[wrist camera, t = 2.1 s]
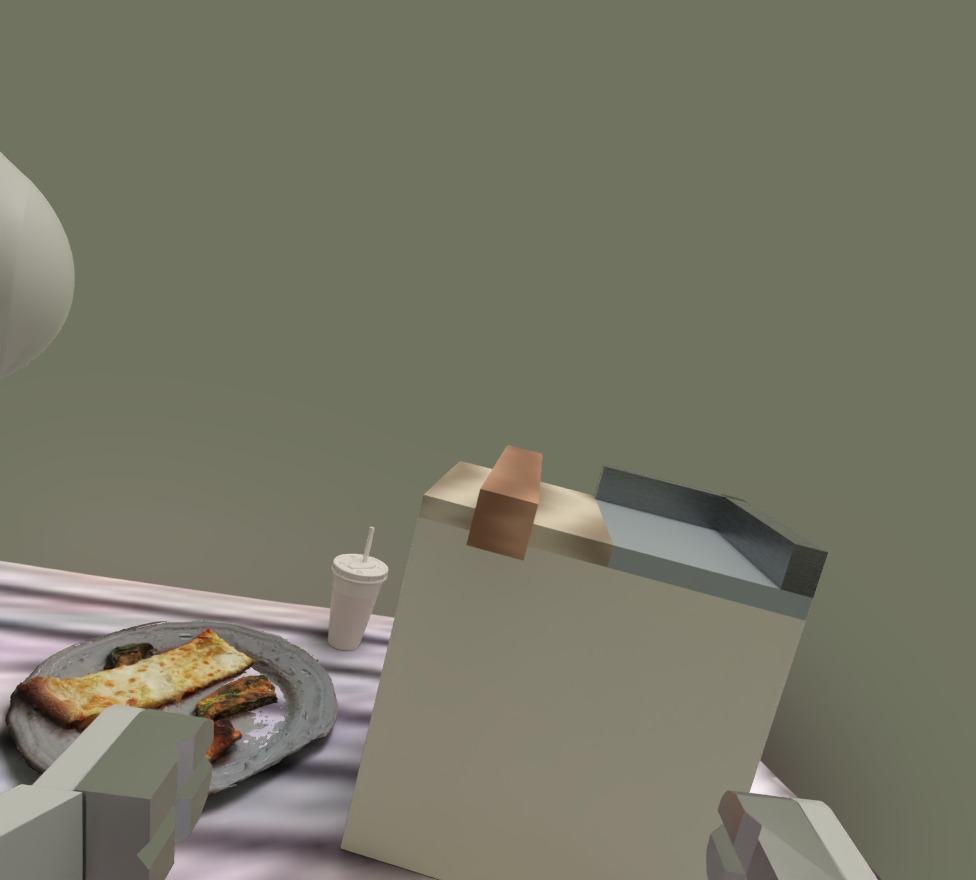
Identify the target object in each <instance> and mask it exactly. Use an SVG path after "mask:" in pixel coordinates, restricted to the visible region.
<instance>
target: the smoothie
mask: <svg viewBox="0 0 976 880" xmlns="http://www.w3.org/2000/svg"><path fill="white" fill-rule="evenodd" d="M374 530H375V528H374V527H370V530H369V534H368V538H367V543H366V548H365V552H364V555H360V554H344V555H340V556H337V557H336V558H335V559H334V561H333V565H332V568H331V569H332V571H333V573H334V576H333V587H332V598H331V609H330V620H329V632H328V643H329V644H330V645H331V646H332V647H334V648H336V649H339V650H354V649H356V648H358V647H359V645H360V642H361V640H362V637H363V634H364V631H365V629H366V626H367V623H368V621H369V618H370V615H371V612H372V610H373V607H374V604H375V601H376V599H377V596H378V593H379V591H380V588H381V585H382V582H383V581H385V579H386V578H387V573H388V567H387V565H386V564H384V563H383V562H382V561H380V560H378V559H376V558H373V557H369V551H370V547H371V542H372V538H373V534H374Z"/></svg>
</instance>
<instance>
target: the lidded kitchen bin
mask: <svg viewBox="0 0 976 880" xmlns="http://www.w3.org/2000/svg"><path fill="white" fill-rule="evenodd" d="M491 471H492V469H489V468H485V467H481V466H477V465H473V464H469V463H466V462H462V461H460V462H459V463H458V464H457V465H455V466H454V467H453V468H452V469H451V470H450V471H449V472H448V473H447V474H446V475H445V476H444V477H442V478H441V479H440V480H439V481H438V482H437V483H436V484H435V485H434V486H433V487H432V488H430V489H429V490H428V491H427V492H426V493H425V494H424V496H423V500H422V504H421V508H420V512H419V517H418V521H417V525H416V530H415V534H414V538H413V543H412V546H411V551H410V555H409V559H408V564H407V568H406V572H405V576H404V581H403V585H402V589H401V593H400V597H399V602H398V606H397V610H396V614H395V619H394V623H393V627H392V631H391V636H390V640H389V644H388V648H387V652H386V657H385V661H384V665H383V669H382V674H381V678H380V682H379V686H378V691H377V695H376V699H375V703H374V708H373V712H372V716H371V720H370V725H369V729H368V733H367V737H366V742H365V746H364V750H363V754H362V759H361V763H360V767H359V771H358V776H357V780H356V784H355V788H354V792H353V797H352V801H351V805H350V809H349V814H348V818H347V822H346V826H345V831H344V835H343V839H342V843H341V849H344V850H347V851H350V852H354V853H357V854H360V855H363V856H366V857H370V858H373V859H376V860H379V861H382V862H385V863H389V864H392V865H395V866H398V867H401V868H404V869H408V870H411V871H414V872H417V873H420V874H424V875H427V876H430V877H433V878H436V879H439V880H708V877H707V872H706V850H707V846H708V842H709V838H710V834H711V832H713V831H714V830H715V829H716V828H718V827H719V826H720V825H721V824H723V822H722V819H721V817H720V815H719V812H718V807H719V804H720V800H721V797H722V796H723V795H724V793H725V792H726V791H727V790H731V791H738V792H746V793H749V792H750V789H751V786H752V783H753V780H754V777H755V774H756V770H757V767H758V764H759V761H760V758H761V755H762V752H763V749H764V746H765V743H766V740H767V737H768V734H769V731H770V728H771V725H772V722H773V719H774V715H775V712H776V709H777V706H778V703H779V700H780V697H781V694H782V691H783V688H784V685H785V682H786V679H787V676H788V673H789V669H790V667H791V664H792V661H793V658H794V654H795V651H796V648H797V645H798V642H799V639H800V636H801V633H802V630H803V627H804V624H805V621H806V618H807V615H808V612H809V608H810V606H811V603H812V600H813V597H814V594H815V590H816V587H817V584H818V581H819V578H820V575H821V572H822V569H823V566H824V563H825V560H826V557H827V554H828V552H827V551H825V550H823V549H822V548H820V547H819V546H817V545H815V544H813V543H812V542H810V541H809V540H807V539H806V538H804V537H802V536H801V535H799V534H797V533H796V532H794V531H793V530H791V529H789V528H788V527H786V526H785V525H783V524H781V523H780V522H778V521H776V520H775V519H773V518H772V517H770V516H768V515H767V514H765V513H764V512H762V511H760V510H759V509H757V508H755V507H754V506H752V505H751V504H749V503H747V502H746V501H744V500H742V499H738V498H735V497H730V496H727V495H723V494H719V493H714V492H711V491H707V490H703V489H699V488H695V487H691V486H688V485H684V484H680V483H676V482H672V481H668V480H664V479H660V478H656V477H652V476H649V475H645V474H641V473H637V472H633V471H629V470H625V469H621V468H617V467H613V466H609V465H605V464H603V466H602V469H601V473H600V477H599V480H598V484H597V487H596V491H595V495H594V496H593V495H589V494H585V493H581V492H577V491H574V490H570V489H566V488H562V487H558V486H554V485H550V484H547V483H543V482H540V491H539V503H538V508H537V511H536V515H535V519H534V523H533V527H532V531H531V534H530V538H529V542H528V546H527V550H526V554H525V557H524V561H523V560H519V559H516V558H512V557H508V556H505V555H501V554H497V553H493V552H490V551H486V550H482V549H479V548H475V547H471V546H468V545H466V544H467V540H468V536H469V532H470V528H471V524H472V520H473V516H474V512H475V508H476V504H477V500H478V496H479V492H480V488H481V487H482V485H483V484H484V482H485V480H486V479H487V477H488V476H489V474H490V472H491Z"/></svg>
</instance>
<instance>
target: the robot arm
mask: <svg viewBox="0 0 976 880" xmlns="http://www.w3.org/2000/svg"><path fill="white" fill-rule="evenodd" d="M74 276H75V274H74V263H73V257H72V252H71V248H70V245H69V242H68V239H67V236H66V234H65V231H64V229H63V227H62V225H61V223H60V221H59V219H58V217H57V215H56V214H55V212H54V210H53V209H52V207H51V206H50V204H49V203H48V202H47V200H46V199H45V197H44V196H43V194H42V193H41V192H40V191H39V190H38V189H37V188H36V186H35V185H34V184H33V183H32V182H31V181H30V180H29V179H28V178H27V177H26V176H25V175H24V174H23V173H22V172H20V170H18V169H17V168H16V167H15V166H14V165H13V164H12V163H11V162H10V161H9V160H8V159H7V158H6V157H5V156H4V155H3V154H2V153H1V152H0V378H3V377H6V376H8V375H10V374H12V373H14V372H15V371H17V370H19V369H21V368H22V367H24V366H25V365H27V364H28V363H30V362H31V361H32V360H34V359H35V358H36V357H37V356H38V355H39V354H41V353H42V352H43V351H44V350H45V349H46V348H47V347H48V345H49V344H50V343H51V342H52V341H53V340H54V338H55V337H56V335H57V334H58V333H59V331H60V330H61V328H62V326H63V324H64V322H65V320H66V318H67V315H68V313H69V310H70V307H71V304H72V299H73V293H74V284H75V277H74ZM213 740H214V723H213V722H212V721H211V720H210V719H208V718H202V717H196V716H190V715H184V714H178V713H172V712H165V711H159V710H153V709H143V708H137V707H131V706H125V705H119V704H114V705H112V706H110V707H108V708H106V709H104V710H103V711H102V712H101V713H100V714H99V716H98V717H97V718H96V719H95V720H94V721H93V722H92V723H91V724H90V725H89V726H88V727H87V728H86V729H85V730H84V731H83V732H82V733H81V734H80V735H79V736H78V737H77V739H76V740H75V741H74V742H73V743H72V744H71V745H70V746H69V747H68V748H67V749H66V750H65V751H64V752H63V753H62V754H61V755H60V756H59V757H58V758H57V759H56V760H55V762H54V763H53V764H52V765H51V766H50V767H49V768H48V769H47V770H46V771H45V772H44V773H43V774H42V775H41V776H40V777H39V778H38V779H37V780H36V781H35V782H34V783H33V785H24V784H20V785H18V786H16V787H14V788H12V789H10V790H8V791H5V792H3V793H1V794H0V880H165V878H166V877H167V875H168V873H169V871H170V870H171V868H172V866H173V864H174V853H175V845H176V844H178V843H179V842H181V841H182V840H184V839H185V838H187V837H188V836H190V834H191V833H192V831H193V829H194V827H195V825H196V823H197V822H198V820H199V818H200V815H201V813H202V810H203V807H204V805H205V802H206V799H207V797H208V792H209V788H210V783H211V775H212V765H211V763H210V762H209V760H208V759H207V757H206V756H205V754H206V752H207V751H208V749H209V748H210V746H211V744H212V743H213ZM718 812H719V815H720V817H721V819H722V822H723V824H721V825H720V826H719V827H718V828H716V829H715V830H714V831H713V832H711V834H710V838H709V842H708V846H707V850H706V872H707V877H708V880H878V879H877V878H876V876H875V875H874V873H873V872H872V870H871V869H870V867H869V866H868V864H867V863H866V861H865V860H864V858H863V857H862V855H861V854H860V852H859V851H858V850H857V848H856V846H855V845H854V843H853V842H852V840H851V839H850V837H849V836H848V834H847V833H846V831H845V830H844V828H843V827H842V825H841V824H840V822H839V821H838V819H837V818H836V817H835V815H834V814H833V812H832V811H831V809H830V808H829V807H828V806H827V805H825V804H824V803H823V802H822V801H815V800H806V799H798V798H785V797H777V796H769V795H762V794H754V793H746V792H738V791H731V790H727V791H726V792H725V793H724V795H723V796H722V797H721V800H720V804H719V807H718Z"/></svg>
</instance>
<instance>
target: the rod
mask: <svg viewBox="0 0 976 880" xmlns="http://www.w3.org/2000/svg"><path fill="white" fill-rule="evenodd" d="M541 465H542V454H540V453H536V452H532V451H529V450H525V449H521V448H517V447H513V446H509V445H507V447H506V448H505V450H504V452H503V453H502V455H501V456H500V458H499V460H498V461H497V463H496V465H495V466H494V468H493V469H492V471H491V472H490V474H489V476H488V477H487V479H486V480H485V482H484V484H483V485H482V487H481V488H480V492H479V496H478V500H477V504H476V508H475V512H474V516H473V520H472V524H471V528H470V532H469V536H468V540H467V544H466V545H468V546H471V547H475V548H479V549H482V550H486V551H490V552H493V553H497V554H501V555H505V556H508V557H512V558H516V559H519V560H523V561H524V557H525V554H526V550H527V546H528V542H529V538H530V534H531V531H532V527H533V523H534V519H535V515H536V511H537V508H538V503H539V491H540V478H541Z"/></svg>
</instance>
